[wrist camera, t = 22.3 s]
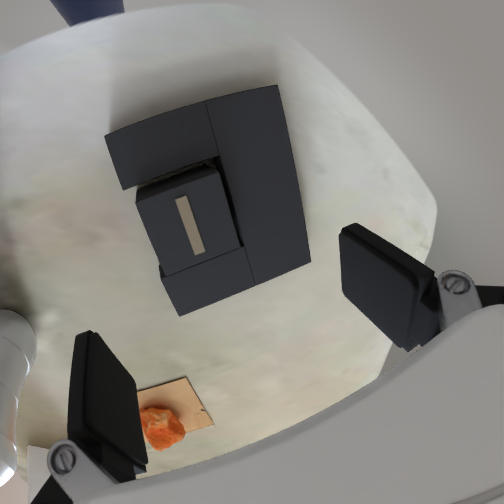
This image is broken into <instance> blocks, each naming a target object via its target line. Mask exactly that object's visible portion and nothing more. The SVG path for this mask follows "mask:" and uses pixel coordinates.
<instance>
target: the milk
mask: <svg viewBox="0 0 504 504" xmlns="http://www.w3.org/2000/svg"><path fill="white" fill-rule="evenodd" d="M49 450H50V449H46V448H41V447H36V446H32V445H28V451H27V481H28V499H29V504H31V502H32V501H33V499H34V498H35V496H36V495H37V493H38V492H39V491H40V489H41V488H42V486H43V485H44V484H45V482H46V481H47V479H48V478H49V477H50V475H51V473H50V471H49V469H48V467H47V455H48V452H49Z"/></svg>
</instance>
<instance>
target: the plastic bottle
mask: <svg viewBox="0 0 504 504" xmlns="http://www.w3.org/2000/svg"><path fill="white" fill-rule="evenodd" d="M36 348H37V340H36V336H35V334H34V332H33V329H32V328H31V326H30V324H29V323H28V322H27V321H26V320H25V319H24V318H23V317H22V316H21V315H19V314H17V313H16V312H13V311H10V310H0V486H2V485H3V484H5V483H6V482H7V481H8V480H9V479H10V478H11V477H12V476H13V474H14V472H15V469H16V467H17V445H16V419H17V411H18V410H17V408H18V403H19V396H20V393H21V390H22V387H23V384H24V381H25V378H26V376H27V374H28V373H29V371H30V369H31V367H32V365H33V363H34V360H35V358H36Z"/></svg>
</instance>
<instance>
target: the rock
mask: <svg viewBox="0 0 504 504" xmlns="http://www.w3.org/2000/svg"><path fill="white" fill-rule="evenodd" d="M137 396H138V404H139V411H140V417H141V424H142V430H143V436H144V441H145V443H147V442H149V443H150V444H151V445H152V447H153V448H154V449H155V450H158V451H163V450H164V449H166V448H169V447H170V446H171V445H173V444H174V443H176V442H179V441H181V440H182V439H183V438H184V436H185V433H187V432H190V431H194V430H197V429H200V428H204V427H207V426H210V425H213V422H212V420H211V419H210V417H209V415H208V414H207V412H206V411H201V409H204V407H203V406H202V404H201V402H200V401H199V399H198V397H197V396H196V394H195V392H194V390H193V389H192V387H191V385H190V384H189V382H188V380H187V379H186V378H183V379H180V380H177V381H174V382H171V383H167V384H164V385H160V386H157V387H153V388H150V389H146V390H143V391H139V392H137ZM197 413H199V414H197Z"/></svg>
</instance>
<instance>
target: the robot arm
mask: <svg viewBox="0 0 504 504" xmlns="http://www.w3.org/2000/svg"><path fill="white" fill-rule="evenodd" d="M339 247H340V262H341V281H342V291H343V294H344V295H345V297H346V298H347V299H349V300H350V301H351V302H352V303H353V304H354V305H355V306H356V307H357V308H358V309H359V310H360V311H361V312H362V313H363V314H364V315H365V316H366V317H368V318H369V319H370V320H371V321H372V322H373V323H374V324H375V325H376V326H377V327H378V328H379V329H380V330H381V331H382V332H383V333H384V334H385V335H386V336H387V337H388V338H389V339H390V340H391V341H392V342H393V343H394V344H396V345H397V346H398V347H400V348H401V347H403V348H404V349H405V350H406V351H407V352H409V351H410V350H412V349H413V348H414V347H416V346H417V345H418V344H420V345H421V346H422V348H420V349H419V350H417V351H416V352H414V353H413V354H412V355H410V356H409V357H407V358H406V359H405V360H403V361H402V362H400V363H399V364H398V365H397V366H395V367H393V368H392V369H390V370H389V371H387V372H386V373H385V374H383V375H382V376H380V377H378V378H377V379H375V380H374V381H372V382H371V383H369V384H367V385H366V386H364V387H363V388H361V389H359V390H358V391H356V392H354V393H353V394H351V395H349V396H348V397H346V398H344V399H343V400H341V401H339V402H337V403H335V404H334V405H332V406H330V407H328V408H326V409H325V410H323V411H321V412H319V413H317V414H315V415H313V416H311V417H309V418H307V419H305V420H303V421H301V422H299V423H297V424H295V425H293V426H291V427H289V428H287V429H285V430H283V431H280V432H278V433H276V434H274V435H271V436H269V437H267V438H264V439H262V440H260V441H257V442H255V443H252V444H250V445H247V446H245V447H242V448H240V449H237V450H235V451H232V452H229V453H226V454H224V455H221V456H218V457H215V458H212V459H209V460H206V461H203V462H200V463H197V464H193V465H190V466H186V467H183V468H179V469H176V470H172V471H169V472H165V473H161V474H158V475H154V476H150V477H145V478H141V479H136V476H135V475H136V474H141V473H145V472H147V471H146V466H145V464H147V463H148V457H147V452H146V447H145V441H144V436H143V430H142V424H141V417H140V411H139V404H138V396H137V388H136V383H135V381H134V379H133V377H132V376H131V375H130V374H129V372H128V371H127V370H126V369H125V368H124V366H123V365H122V364H121V363H120V361H119V360H118V359H117V358H116V356H115V355H114V354H113V353H112V351H111V350H110V349H109V347H108V346H107V345H106V343H105V342H104V341H103V339H102V338H101V337H100V335H99V334H98V333H97V332H95V333H93V332H92V331H91V330H88V331H86V332H83V333H81V334H78V335H76V338H75V344H74V351H73V359H72V367H71V376H70V387H69V401H68V423H67V433H68V439H61V440H59V441H57V442H56V443H54V444H53V445H52V447H51V448H50V450H49V452H48V455H47V467H48V469H49V471H50V473H51V475H50V477H49V478H48V479H47V481H46V482H45V484H44V485H43V486H42V488H41V489H40V491H39V492H38V493H37V495H36V496H35V498H34V499H33V501H32V502H31V504H504V287H503V286H502V287H501V286H476V285H475V284H474V282H473V280H472V278H471V277H470V276H469V275H467V274H466V273H464V272H461V271H458V270H448V271H445V272H442V273H441V274H440V275H439V277H438V279H437V278H436V277H434V273H435V272H434V271H433V270H431V269H430V268H428V267H427V266H425V265H424V264H422V263H421V262H419V261H418V260H416V259H415V258H413V257H412V256H410V255H409V254H407V253H405V252H404V251H402V250H401V249H399V248H398V247H396V246H394V245H393V244H391V243H390V242H388V241H386V240H385V239H383V238H381V237H380V236H378V235H376V234H375V233H373V232H371V231H370V230H368V229H366V228H365V227H363V226H361V225H360V224H358V223H353V224H351V225H348V226H346V227H344V228H342V230H341V233H340V234H339Z"/></svg>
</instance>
